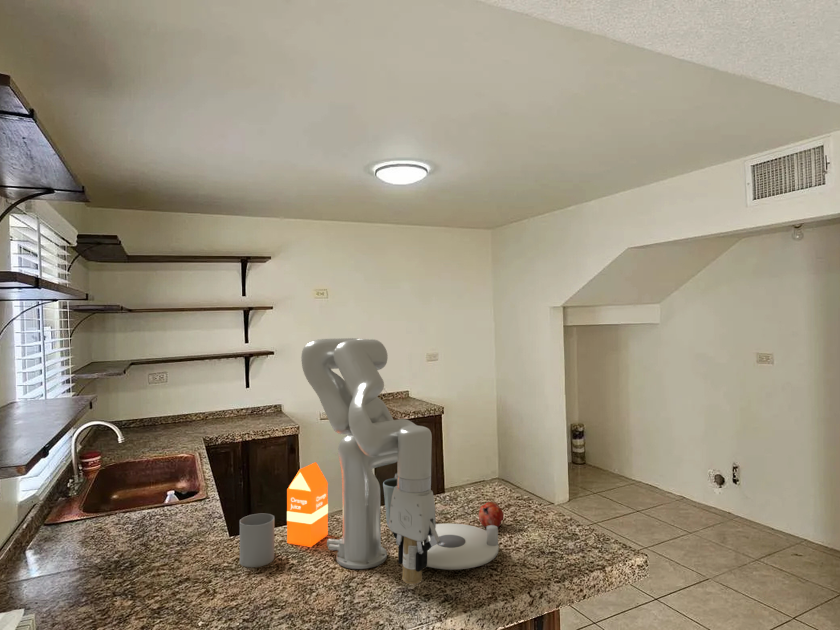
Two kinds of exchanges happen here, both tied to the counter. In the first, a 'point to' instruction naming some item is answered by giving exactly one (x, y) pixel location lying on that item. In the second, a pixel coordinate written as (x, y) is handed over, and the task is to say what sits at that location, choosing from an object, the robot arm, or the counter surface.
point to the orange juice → (307, 507)
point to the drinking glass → (388, 495)
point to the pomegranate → (490, 514)
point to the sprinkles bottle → (410, 562)
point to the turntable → (463, 546)
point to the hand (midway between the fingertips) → (412, 564)
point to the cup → (256, 540)
